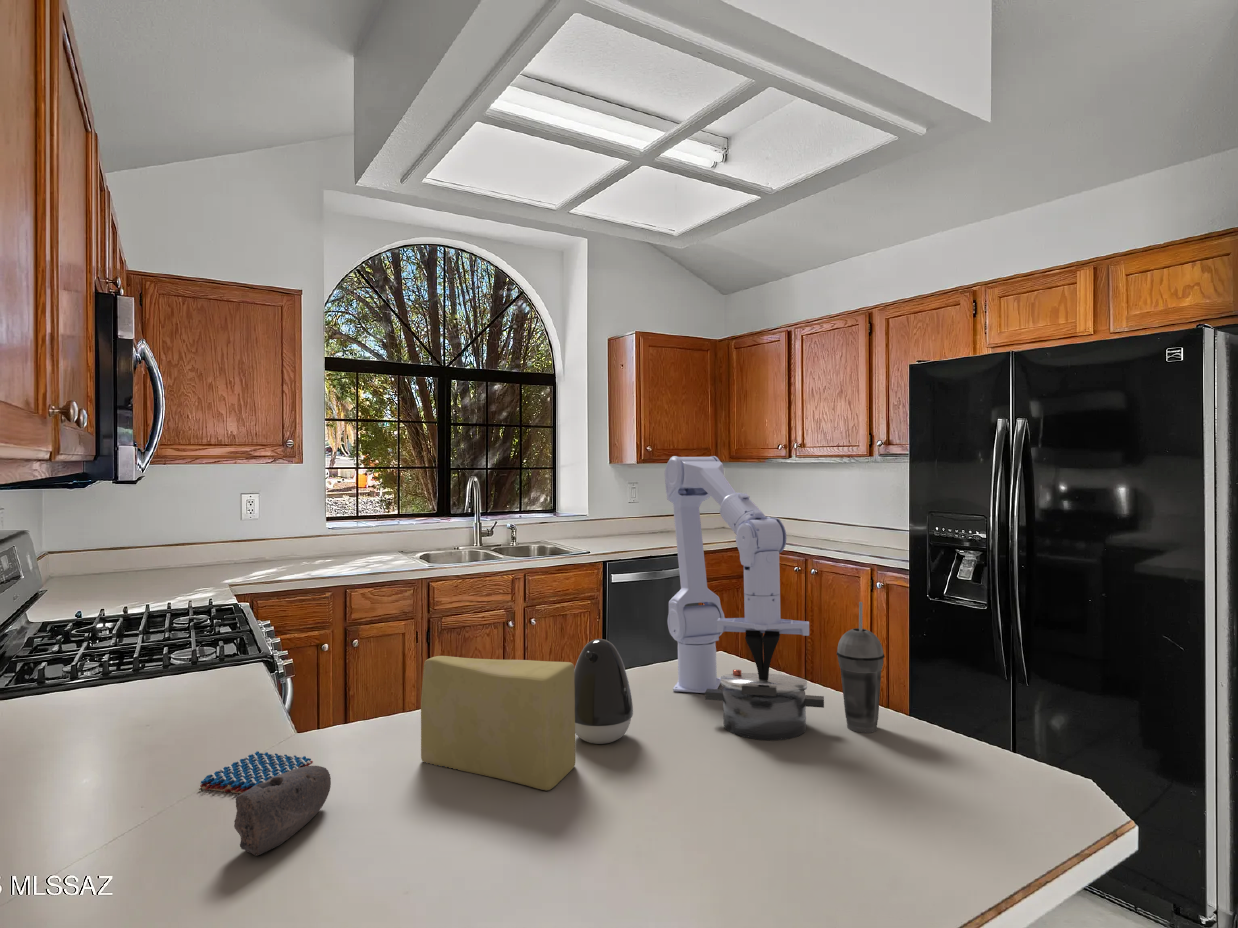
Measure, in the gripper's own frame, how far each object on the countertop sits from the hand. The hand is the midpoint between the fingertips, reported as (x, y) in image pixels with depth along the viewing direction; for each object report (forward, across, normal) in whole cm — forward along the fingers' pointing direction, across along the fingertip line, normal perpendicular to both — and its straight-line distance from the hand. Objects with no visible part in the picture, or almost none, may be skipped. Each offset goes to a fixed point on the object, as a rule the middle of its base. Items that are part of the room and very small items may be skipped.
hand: (763, 678), depth 116 cm
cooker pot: (+8, 0, 0) cm, 8 cm away
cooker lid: (+1, 0, -2) cm, 2 cm away
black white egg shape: (+8, -24, -12) cm, 28 cm away
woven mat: (+8, -65, -37) cm, 75 cm away
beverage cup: (+8, +15, +2) cm, 17 cm away
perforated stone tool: (+8, -50, -49) cm, 70 cm away
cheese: (+8, -35, -27) cm, 45 cm away
